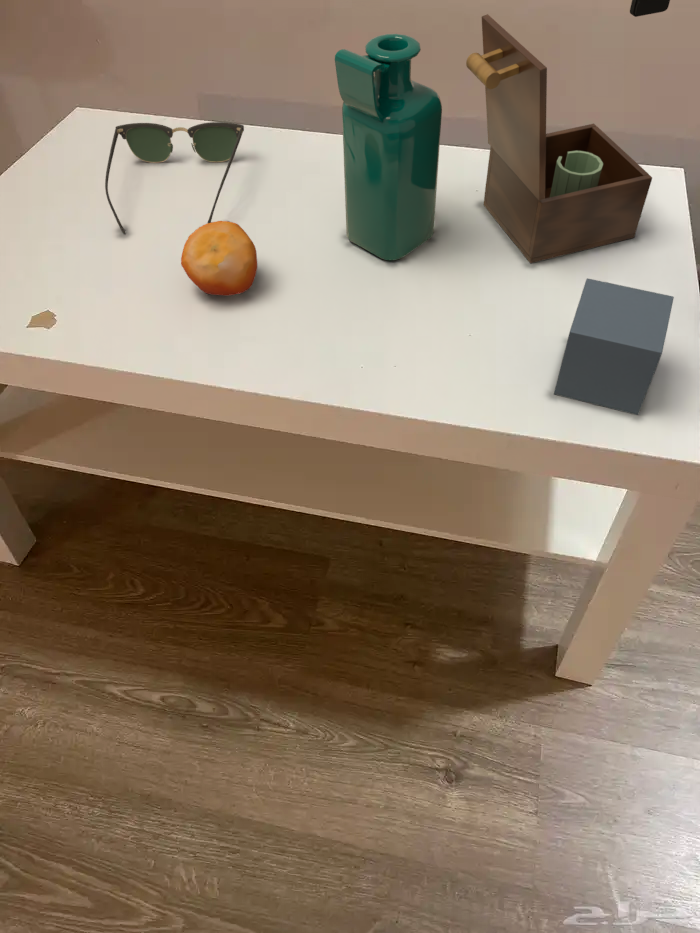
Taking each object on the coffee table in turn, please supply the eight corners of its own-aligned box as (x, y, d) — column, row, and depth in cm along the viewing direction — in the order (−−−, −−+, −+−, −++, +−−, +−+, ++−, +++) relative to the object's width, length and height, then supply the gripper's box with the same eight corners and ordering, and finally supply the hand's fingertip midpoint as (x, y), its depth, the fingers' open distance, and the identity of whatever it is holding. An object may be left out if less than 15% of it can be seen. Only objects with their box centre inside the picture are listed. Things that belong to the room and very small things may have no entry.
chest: (580, 182, 98) (594, 123, 92) (634, 237, 91) (652, 177, 85) (483, 204, 96) (490, 145, 90) (530, 263, 88) (541, 203, 82)
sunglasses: (96, 234, 94) (84, 197, 90) (125, 158, 104) (116, 122, 100) (233, 234, 93) (226, 196, 89) (248, 157, 104) (243, 121, 100)
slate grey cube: (650, 359, 78) (674, 296, 72) (638, 415, 74) (662, 352, 68) (570, 341, 80) (586, 277, 74) (553, 394, 76) (569, 331, 69)
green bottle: (387, 206, 96) (390, 13, 79) (440, 234, 92) (455, 38, 75) (331, 242, 92) (320, 47, 74) (384, 273, 88) (386, 74, 71)
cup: (593, 205, 94) (606, 155, 89) (585, 229, 91) (598, 178, 86) (552, 197, 95) (562, 147, 90) (543, 220, 92) (553, 170, 87)
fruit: (268, 243, 89) (254, 211, 82) (262, 310, 88) (247, 284, 81) (199, 240, 90) (179, 208, 82) (192, 306, 89) (171, 280, 81)
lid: (487, 13, 78) (448, 28, 78) (547, 67, 71) (503, 84, 71) (493, 141, 89) (458, 154, 89) (545, 198, 82) (507, 213, 82)
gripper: (933, -243, 42) (799, 78, 56) (734, -293, 53) (662, -12, 66) (817, -228, 41) (708, 97, 54) (636, -282, 51) (582, 2, 65)
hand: (683, 37), depth 60 cm, fingers open, 9 cm apart
